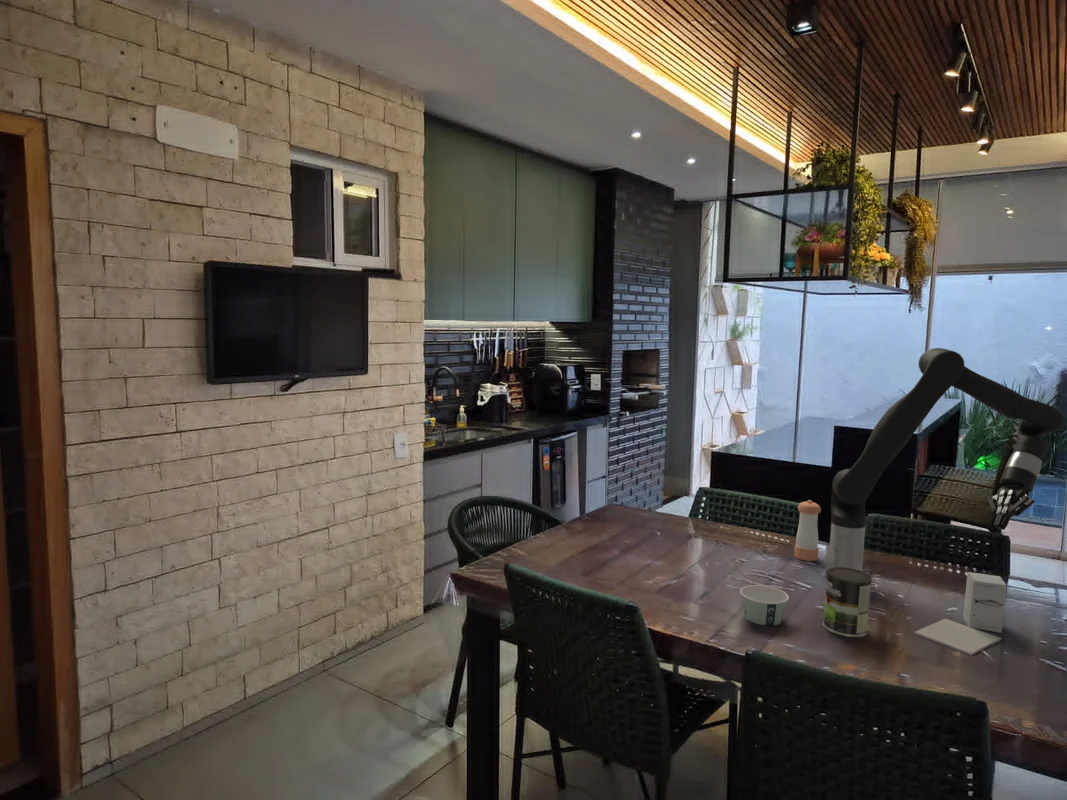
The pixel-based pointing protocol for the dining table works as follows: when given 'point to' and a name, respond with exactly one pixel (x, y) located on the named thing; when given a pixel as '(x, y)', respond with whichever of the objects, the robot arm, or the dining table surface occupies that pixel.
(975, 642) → the mat
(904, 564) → the dining table surface
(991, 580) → the supplement box
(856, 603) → the coffee can
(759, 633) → the dining table surface
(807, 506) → the pepper shaker
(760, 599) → the food container
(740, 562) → the dining table surface
